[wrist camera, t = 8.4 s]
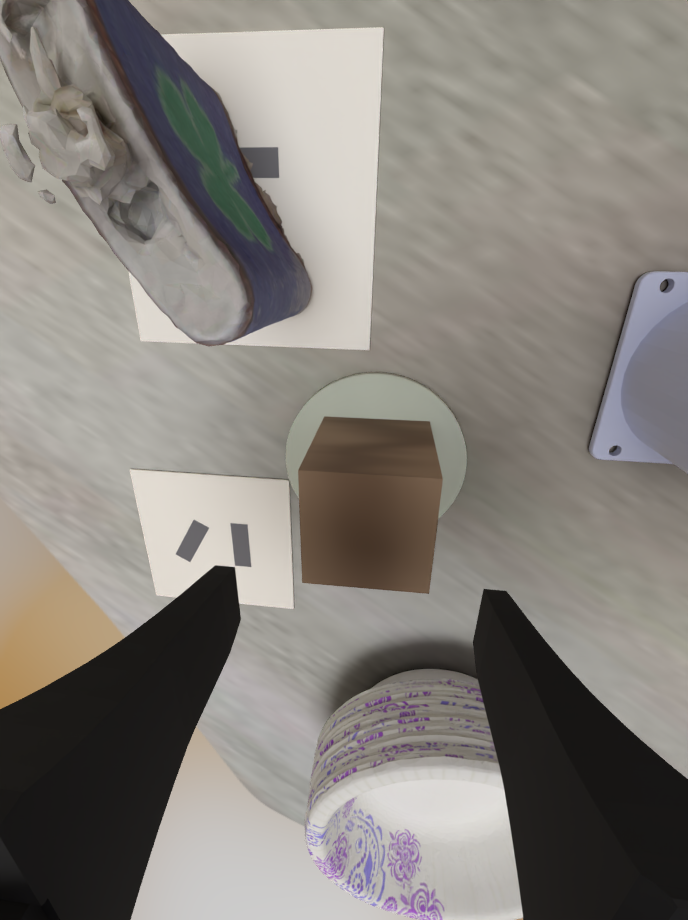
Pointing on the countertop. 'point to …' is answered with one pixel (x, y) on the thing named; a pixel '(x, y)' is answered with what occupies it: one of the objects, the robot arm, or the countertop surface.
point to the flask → (149, 164)
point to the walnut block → (370, 504)
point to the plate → (382, 401)
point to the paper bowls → (414, 801)
